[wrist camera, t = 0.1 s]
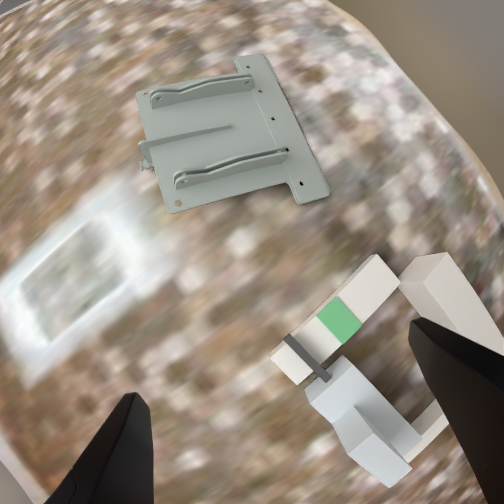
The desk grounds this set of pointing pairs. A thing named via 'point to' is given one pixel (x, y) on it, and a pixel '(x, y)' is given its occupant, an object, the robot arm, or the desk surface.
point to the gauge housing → (371, 297)
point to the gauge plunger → (360, 417)
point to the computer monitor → (12, 6)
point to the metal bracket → (226, 138)
